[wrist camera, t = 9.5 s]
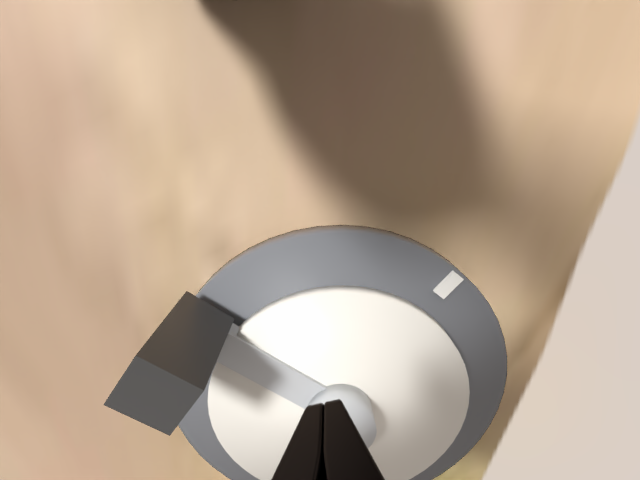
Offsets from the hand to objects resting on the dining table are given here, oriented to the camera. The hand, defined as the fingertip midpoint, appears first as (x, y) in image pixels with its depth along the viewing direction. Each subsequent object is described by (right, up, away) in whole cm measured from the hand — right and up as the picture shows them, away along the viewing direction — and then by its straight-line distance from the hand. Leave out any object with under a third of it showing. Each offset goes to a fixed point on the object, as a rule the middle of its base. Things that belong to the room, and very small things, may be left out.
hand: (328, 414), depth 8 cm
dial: (0, -5, +12) cm, 13 cm away
